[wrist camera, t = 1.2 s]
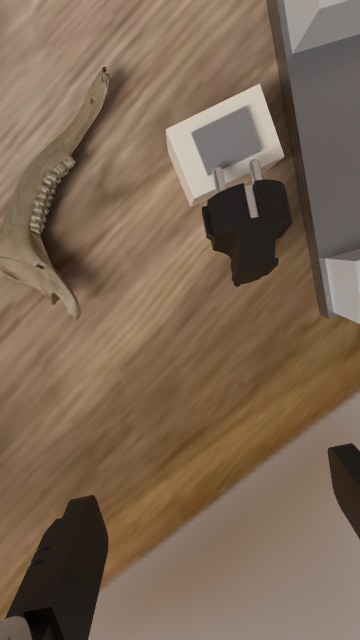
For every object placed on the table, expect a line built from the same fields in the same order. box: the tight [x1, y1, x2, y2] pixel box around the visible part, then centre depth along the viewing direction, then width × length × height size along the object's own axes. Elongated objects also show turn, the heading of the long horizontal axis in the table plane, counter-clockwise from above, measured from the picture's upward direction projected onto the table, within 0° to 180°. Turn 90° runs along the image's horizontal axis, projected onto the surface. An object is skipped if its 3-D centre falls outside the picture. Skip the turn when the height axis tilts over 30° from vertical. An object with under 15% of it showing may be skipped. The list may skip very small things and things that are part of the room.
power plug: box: [202, 159, 292, 287], centre depth 26 cm, size 6×8×12 cm
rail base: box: [267, 0, 360, 319], centre depth 28 cm, size 27×8×2 cm, turn 15°
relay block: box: [166, 84, 285, 207], centre depth 26 cm, size 5×7×6 cm
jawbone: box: [0, 67, 113, 320], centre depth 28 cm, size 9×20×2 cm, turn 170°
